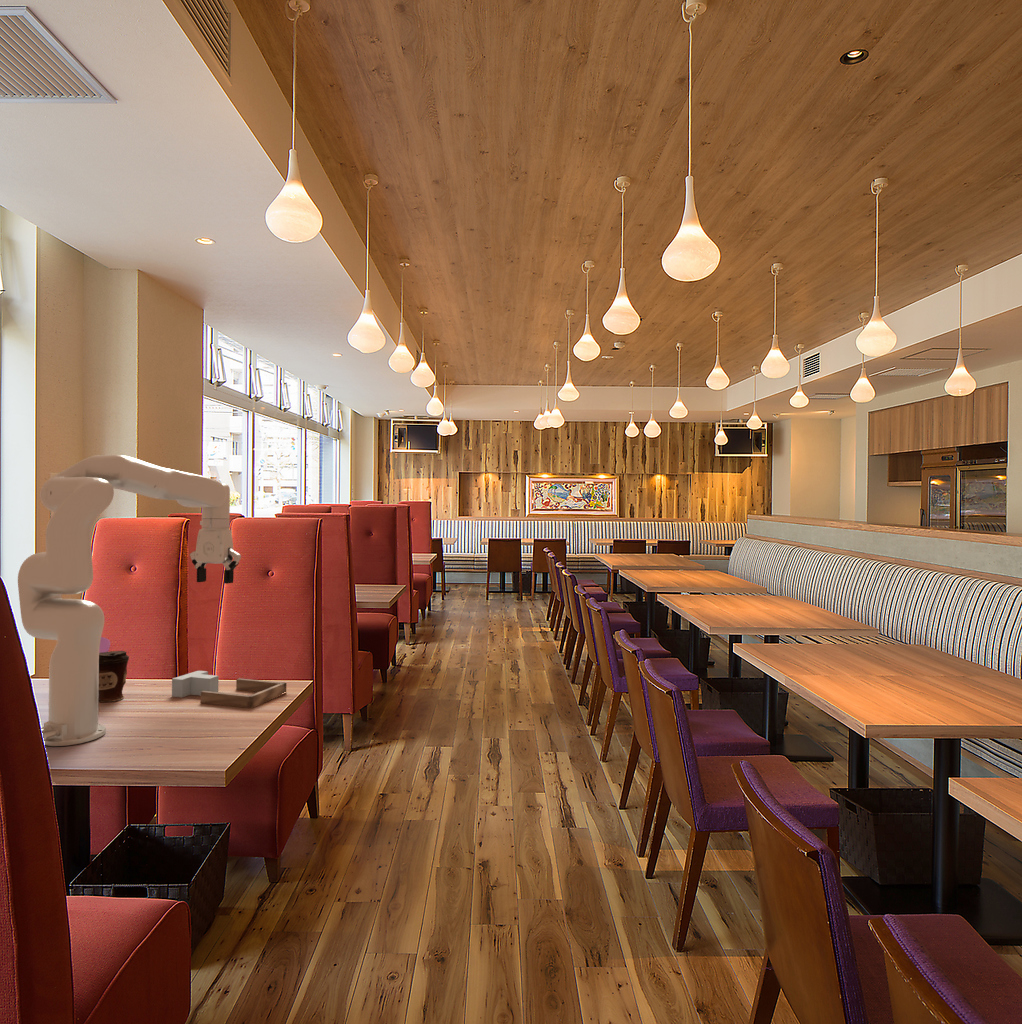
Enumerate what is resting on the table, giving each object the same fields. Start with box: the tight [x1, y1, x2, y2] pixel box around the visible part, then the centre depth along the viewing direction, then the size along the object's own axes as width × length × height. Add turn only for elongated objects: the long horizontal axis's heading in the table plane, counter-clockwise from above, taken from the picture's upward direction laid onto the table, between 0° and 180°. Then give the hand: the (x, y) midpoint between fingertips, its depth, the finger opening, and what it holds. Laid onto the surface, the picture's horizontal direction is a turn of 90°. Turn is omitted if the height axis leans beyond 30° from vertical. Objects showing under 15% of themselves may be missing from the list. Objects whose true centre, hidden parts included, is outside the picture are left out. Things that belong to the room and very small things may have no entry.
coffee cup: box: [98, 650, 130, 703], centre depth 180 cm, size 9×8×13 cm
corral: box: [200, 677, 287, 709], centre depth 183 cm, size 15×16×3 cm
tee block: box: [171, 670, 220, 698], centre depth 187 cm, size 10×10×5 cm
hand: (214, 582), depth 193 cm, fingers open, 9 cm apart
